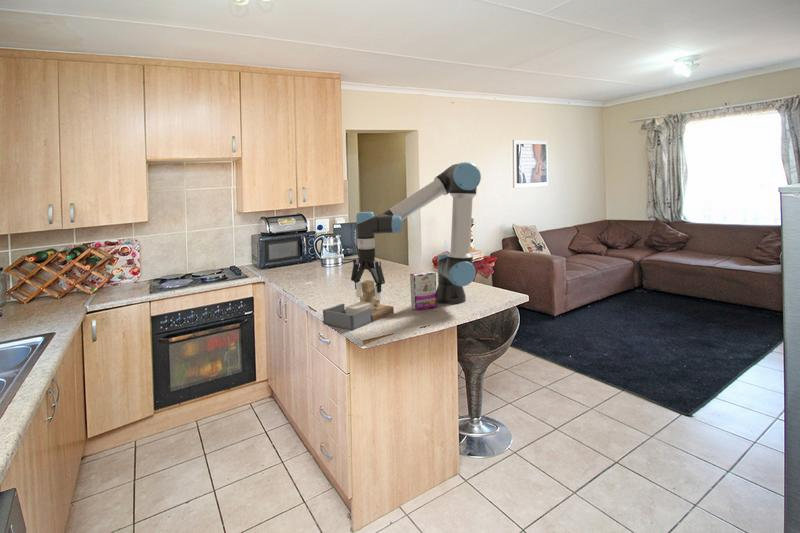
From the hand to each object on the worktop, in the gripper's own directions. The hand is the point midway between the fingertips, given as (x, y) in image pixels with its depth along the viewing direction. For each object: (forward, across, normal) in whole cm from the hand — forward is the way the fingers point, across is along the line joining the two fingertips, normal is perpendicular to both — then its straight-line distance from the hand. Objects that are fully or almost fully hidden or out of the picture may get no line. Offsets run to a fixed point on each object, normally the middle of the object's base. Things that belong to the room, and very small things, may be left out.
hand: (368, 298), depth 190 cm
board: (+8, 0, 0) cm, 8 cm away
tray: (+8, 0, -14) cm, 16 cm away
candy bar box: (+8, +15, +21) cm, 27 cm away
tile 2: (+5, 0, -3) cm, 5 cm away
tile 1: (+5, 0, -9) cm, 10 cm away
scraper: (+4, 0, +1) cm, 4 cm away
